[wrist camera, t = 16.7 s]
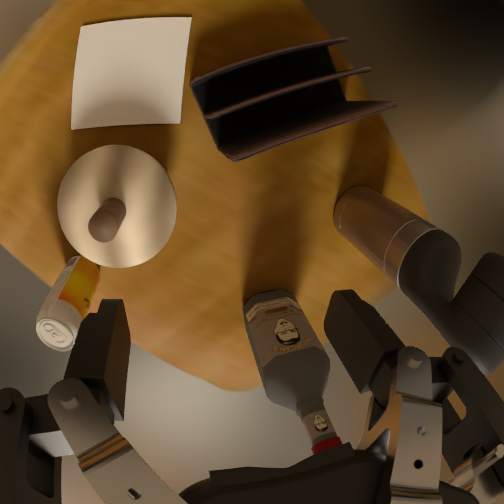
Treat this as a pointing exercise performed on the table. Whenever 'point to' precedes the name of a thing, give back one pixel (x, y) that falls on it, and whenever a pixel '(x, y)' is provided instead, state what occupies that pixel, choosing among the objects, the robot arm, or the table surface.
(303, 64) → the letter holder
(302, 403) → the liquor
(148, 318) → the table surface
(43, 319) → the beer can
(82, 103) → the mat
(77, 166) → the lid
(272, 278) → the table surface
